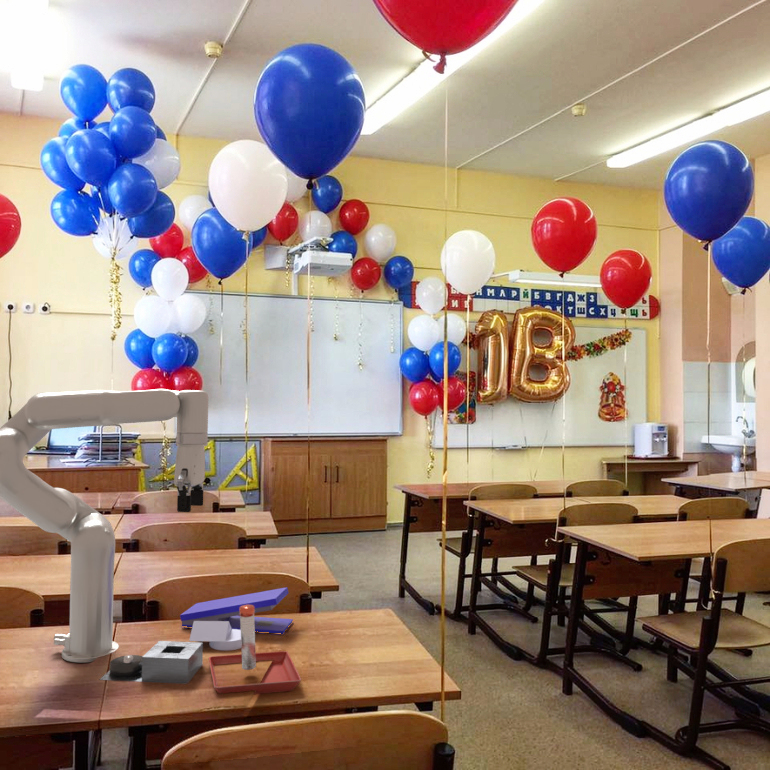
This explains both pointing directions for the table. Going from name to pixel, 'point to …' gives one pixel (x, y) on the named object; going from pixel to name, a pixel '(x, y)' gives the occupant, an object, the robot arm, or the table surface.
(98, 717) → the table surface
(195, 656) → the block
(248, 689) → the plant saucer
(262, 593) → the stapler
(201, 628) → the wedge on round base
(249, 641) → the pin
